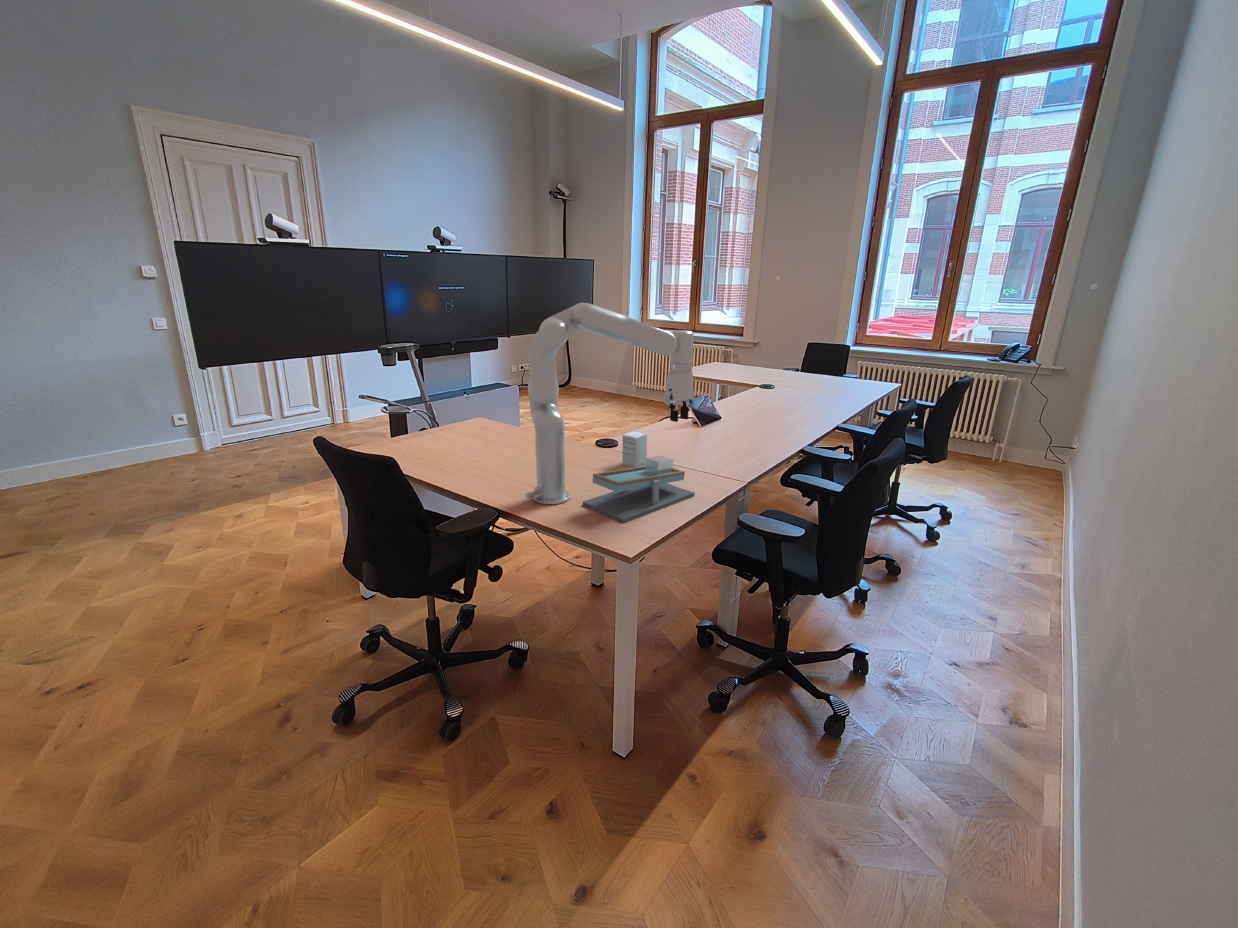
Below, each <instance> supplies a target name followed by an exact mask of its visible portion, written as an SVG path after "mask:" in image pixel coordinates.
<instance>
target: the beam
mask: <svg viewBox="0 0 1238 928" xmlns="http://www.w3.org/2000/svg"><path fill="white" fill-rule="evenodd" d="M644 467H645V465H641V466H638V467H629V468H622V469H616V470H610V471H603V472H596V473H593V474H592V484H595V485H598V486H600V487H603V488H606V489H608V490H610V491H612V492H614V491H615V492H622V491H627V490H633V489H638V488H643V487H649V486H652V481H655V480H659V484H665V483H667V484H669V483H673V482H680V481H685V473H686V471H685V470H681V469H678V468H675V467H673V471H672V473H668V474H662V475H656V476H655V475H652V474H649V473H646V472H644Z"/></svg>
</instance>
